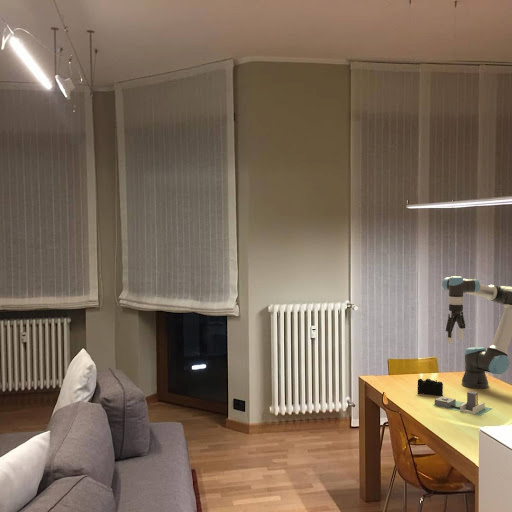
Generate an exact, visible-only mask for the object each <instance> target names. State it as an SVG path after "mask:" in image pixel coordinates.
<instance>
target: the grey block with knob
mask: <svg viewBox="0 0 512 512" xmlns="http://www.w3.org/2000/svg"><path fill="white" fill-rule="evenodd" d="M456 401H457V399H456V398H452V397H446V396H438V397H437V398H435V399H434V404H435V405H437V406H436V407H438V406H441V407H440V408H442V407H446V408H445V409H447V408H450V407H451V405H452V406H454V405H456Z"/></svg>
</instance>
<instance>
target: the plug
mask: <svg viewBox="0 0 512 512" xmlns="http://www.w3.org/2000/svg"><path fill="white" fill-rule="evenodd" d="M466 402H467V410H471V411H473V407H475V406H477V405H479V392H477V391H473V390H469V391H467V392H466Z"/></svg>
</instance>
